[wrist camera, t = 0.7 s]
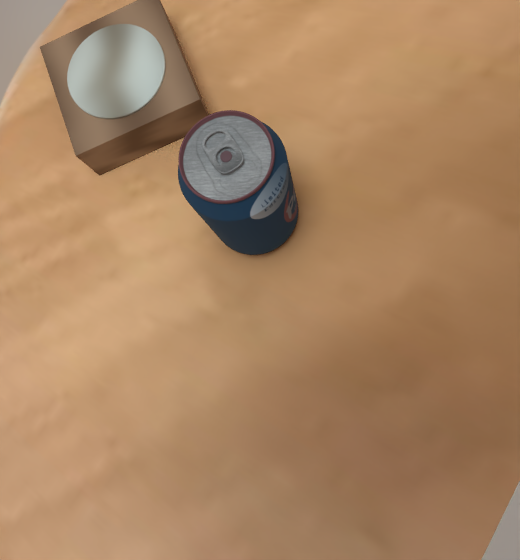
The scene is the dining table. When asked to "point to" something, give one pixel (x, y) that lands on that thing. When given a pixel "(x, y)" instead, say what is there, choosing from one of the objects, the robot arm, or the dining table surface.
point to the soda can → (239, 181)
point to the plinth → (123, 85)
